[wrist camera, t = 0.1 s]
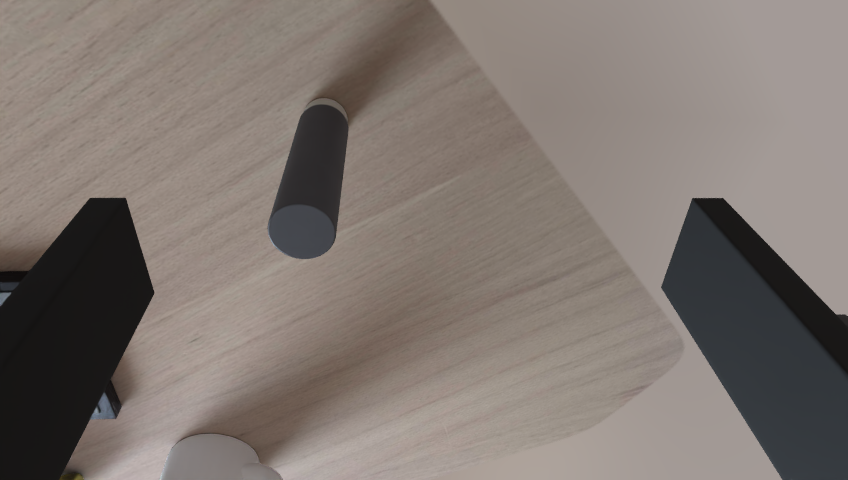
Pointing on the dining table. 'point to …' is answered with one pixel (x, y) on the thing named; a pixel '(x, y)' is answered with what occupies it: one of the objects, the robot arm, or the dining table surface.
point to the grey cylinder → (311, 183)
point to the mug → (215, 460)
